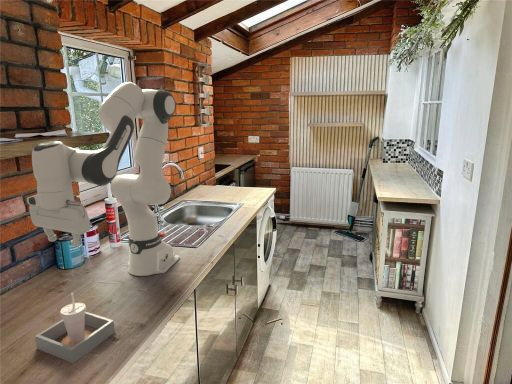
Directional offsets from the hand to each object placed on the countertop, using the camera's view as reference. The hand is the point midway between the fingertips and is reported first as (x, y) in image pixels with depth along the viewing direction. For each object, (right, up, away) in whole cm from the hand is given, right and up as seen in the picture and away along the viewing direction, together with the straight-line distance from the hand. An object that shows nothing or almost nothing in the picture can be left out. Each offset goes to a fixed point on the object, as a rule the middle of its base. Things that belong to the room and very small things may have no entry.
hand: (64, 243), depth 104 cm
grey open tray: (+6, -27, -5) cm, 28 cm away
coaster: (+6, -27, -5) cm, 28 cm away
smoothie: (+6, -27, -5) cm, 28 cm away
